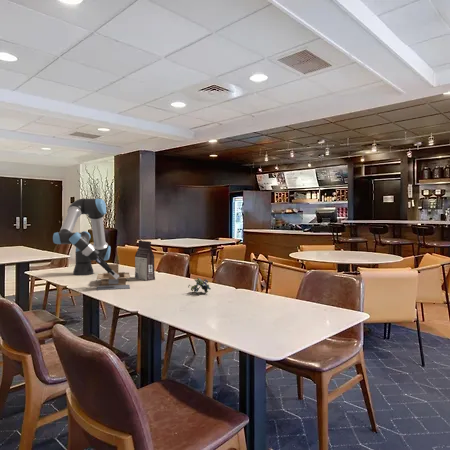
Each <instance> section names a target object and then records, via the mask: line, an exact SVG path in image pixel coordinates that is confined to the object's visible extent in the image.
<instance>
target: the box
mask: <svg viewBox="0 0 450 450" xmlns="http://www.w3.org/2000/svg"><path fill="white" fill-rule="evenodd" d="M108 264H109V268H111V269H112V270H113V271H114V272H115V273H116V274H118V273H119V263H108ZM109 284H118V278H117V279H115V278H114V277H113V276H112V275H111V274H110V273H109Z"/></svg>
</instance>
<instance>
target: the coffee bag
mask: <svg viewBox="0 0 450 450" xmlns="http://www.w3.org/2000/svg"><path fill="white" fill-rule="evenodd" d="M151 248H152V242H151V241H147V240H138V248H137V251H136V252H135V255H134V267H135V268H134V279H138V280H139V279H140V280H142V281H146V282H148V281H154V280H156V276H155V275H156V273H155V254H154V252H153V250H152V249H151Z"/></svg>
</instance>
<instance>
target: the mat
mask: <svg viewBox="0 0 450 450" xmlns="http://www.w3.org/2000/svg"><path fill="white" fill-rule="evenodd" d="M126 289H127V290H128V289H129V290H130V289H131V286H130V284H126V285H112V286H101V285H97V288H96V290H97V291H108V290H109V291H110V290H111V291H112V290H126Z"/></svg>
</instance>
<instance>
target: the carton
mask: <svg viewBox="0 0 450 450" xmlns="http://www.w3.org/2000/svg"><path fill="white" fill-rule="evenodd" d="M118 274H119V277H118V284H109V273H107V272H102V273H97V276H96V280H101V281H100V282H101V285H100V286H112V285H127V284H126V283H127V281H126V280H127V279H130V278H131V275H130V272H124V271H122V272H119V271H118Z"/></svg>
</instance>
